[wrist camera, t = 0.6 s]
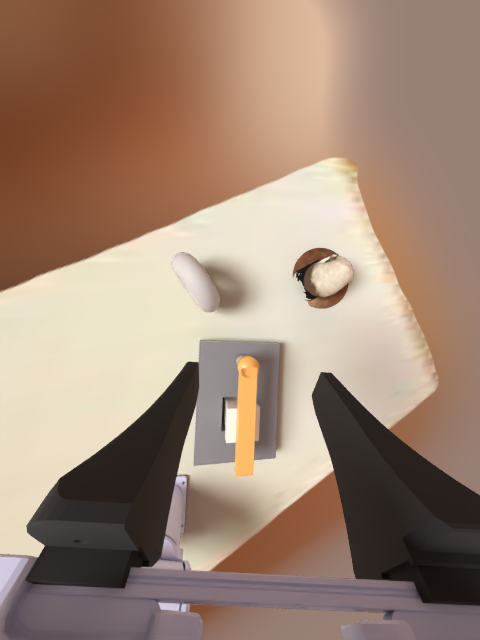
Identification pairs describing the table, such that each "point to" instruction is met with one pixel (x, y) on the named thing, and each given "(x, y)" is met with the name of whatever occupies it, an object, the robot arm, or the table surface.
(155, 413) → the robot arm
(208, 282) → the donut
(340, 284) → the skull
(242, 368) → the orange paddle handle
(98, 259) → the table surface
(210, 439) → the socket block
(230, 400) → the plug
